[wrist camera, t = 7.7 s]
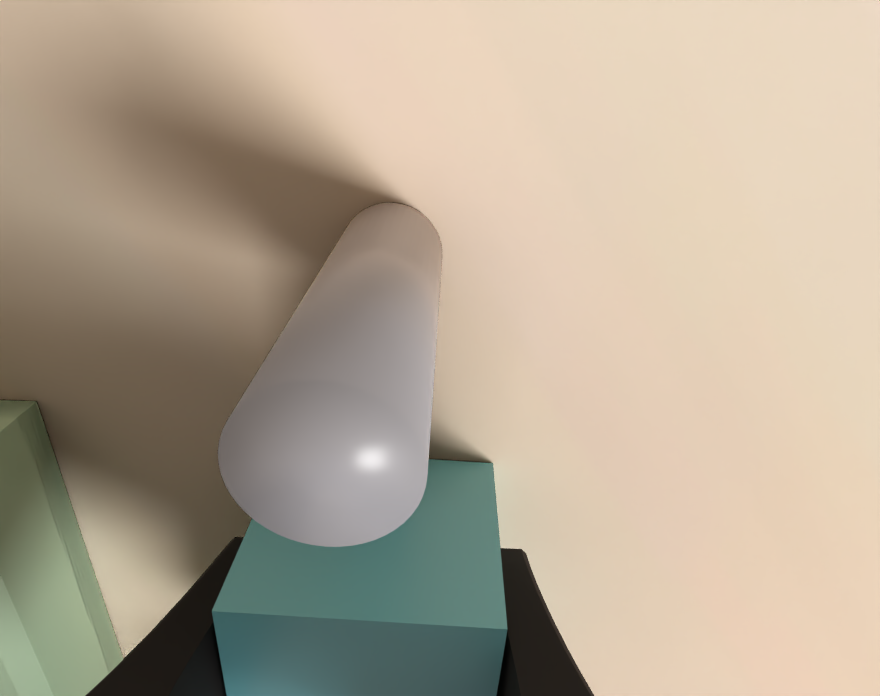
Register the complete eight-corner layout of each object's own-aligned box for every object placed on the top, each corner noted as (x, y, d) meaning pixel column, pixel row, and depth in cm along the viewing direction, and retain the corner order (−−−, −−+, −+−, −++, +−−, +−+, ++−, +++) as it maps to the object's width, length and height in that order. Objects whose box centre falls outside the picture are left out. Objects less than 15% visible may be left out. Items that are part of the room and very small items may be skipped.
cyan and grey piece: (469, 647, 15) (477, 972, 10) (297, 636, 15) (210, 956, 10) (524, 211, 10) (602, 397, 5) (261, 193, 10) (34, 361, 5)
